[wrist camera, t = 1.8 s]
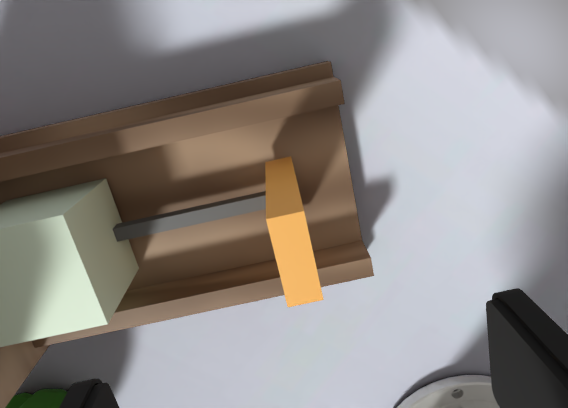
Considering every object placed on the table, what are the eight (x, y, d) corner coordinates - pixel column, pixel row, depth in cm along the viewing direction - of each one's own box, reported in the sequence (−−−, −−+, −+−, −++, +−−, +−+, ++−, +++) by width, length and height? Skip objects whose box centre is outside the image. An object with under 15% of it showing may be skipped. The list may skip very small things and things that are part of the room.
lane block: (307, 231, 28) (327, 319, 19) (46, 288, 29) (-53, 400, 20) (286, 137, 26) (298, 186, 17) (7, 200, 27) (-124, 279, 18)
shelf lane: (362, 257, 31) (475, 504, 14) (50, 324, 31) (-186, 633, 15) (327, 61, 26) (432, 89, 10) (-34, 143, 27) (-494, 298, 11)
